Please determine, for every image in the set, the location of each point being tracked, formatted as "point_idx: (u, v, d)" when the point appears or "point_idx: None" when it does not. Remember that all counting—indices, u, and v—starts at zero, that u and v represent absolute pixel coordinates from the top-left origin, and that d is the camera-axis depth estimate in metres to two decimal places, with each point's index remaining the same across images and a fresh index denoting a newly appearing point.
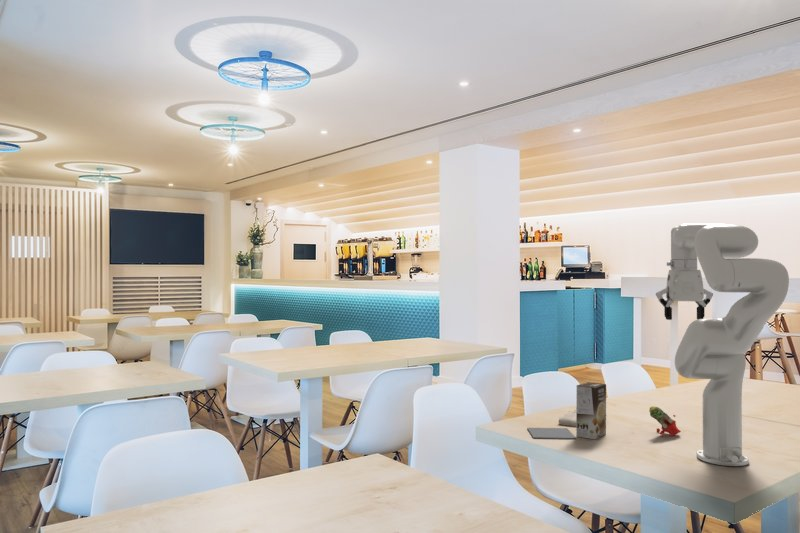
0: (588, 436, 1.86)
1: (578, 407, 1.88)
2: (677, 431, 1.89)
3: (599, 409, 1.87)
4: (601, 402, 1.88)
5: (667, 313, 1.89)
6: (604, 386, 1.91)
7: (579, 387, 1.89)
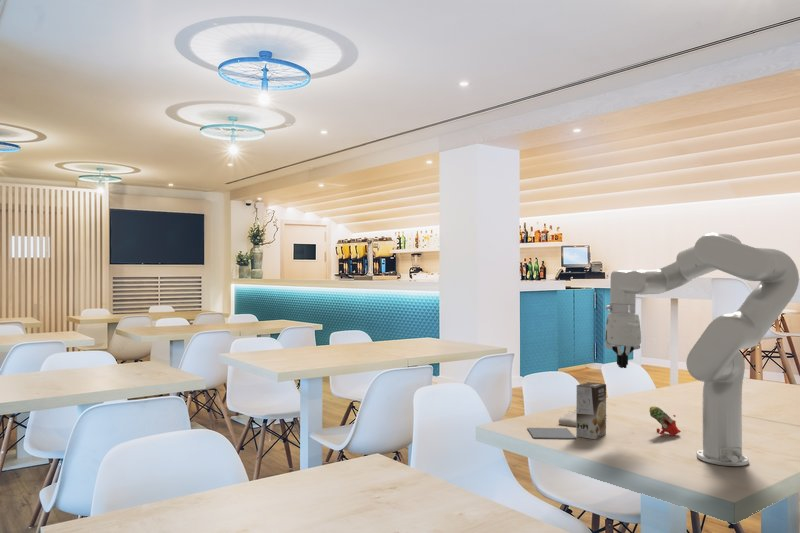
0: (588, 436, 1.86)
1: (578, 407, 1.88)
2: (677, 431, 1.89)
3: (599, 409, 1.87)
4: (601, 402, 1.88)
5: (619, 361, 1.90)
6: (604, 386, 1.91)
7: (579, 387, 1.89)
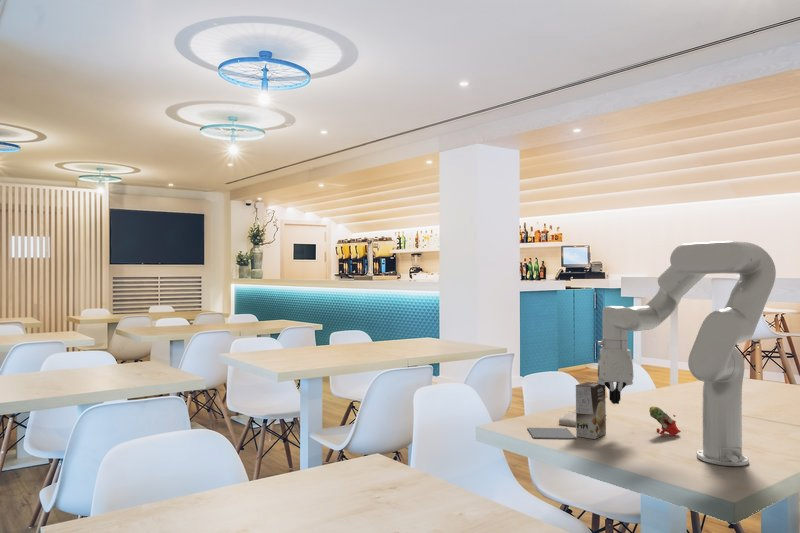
0: (588, 436, 1.86)
1: (577, 407, 1.89)
2: (677, 431, 1.89)
3: (598, 409, 1.87)
4: (600, 401, 1.89)
5: (611, 397, 1.89)
6: (603, 385, 1.91)
7: (578, 387, 1.89)
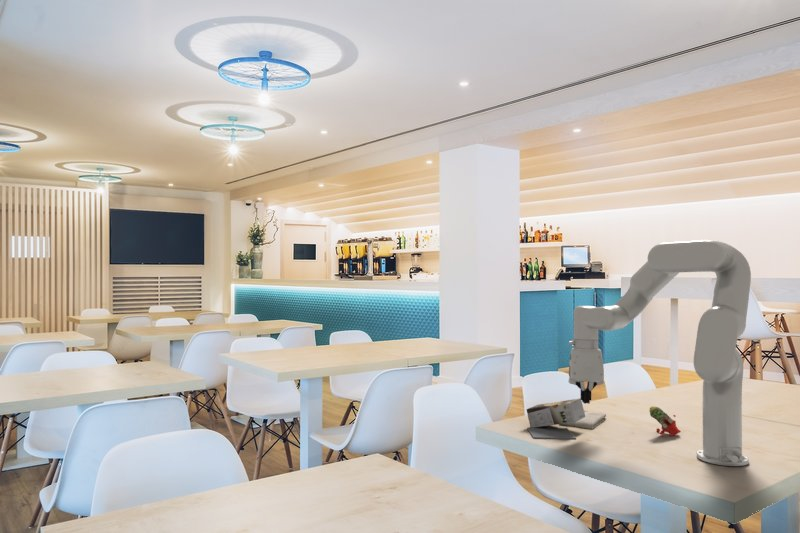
0: (570, 410, 1.90)
1: (548, 423, 1.95)
2: (677, 431, 1.89)
3: (548, 404, 1.98)
4: (545, 404, 2.00)
5: (582, 396, 1.90)
6: (537, 405, 2.05)
7: (531, 424, 1.99)
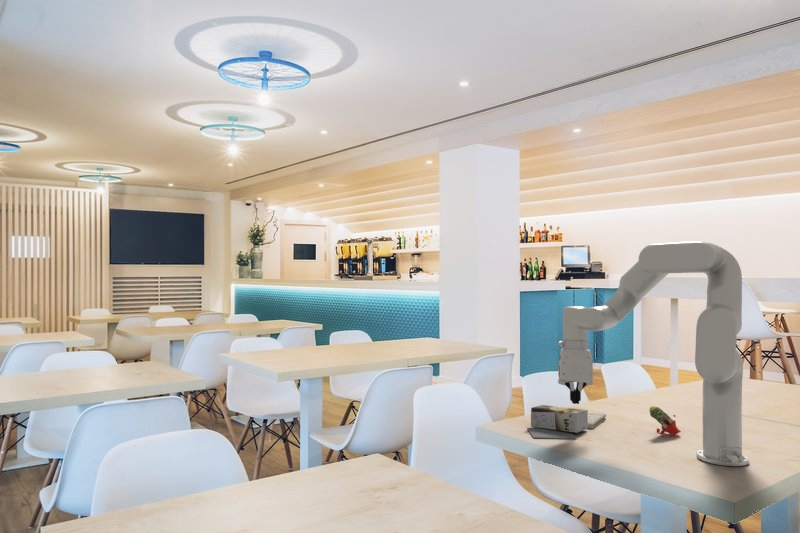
0: (574, 419, 1.90)
1: (550, 427, 1.95)
2: (677, 431, 1.89)
3: (554, 408, 1.97)
4: (550, 407, 2.00)
5: (572, 397, 1.90)
6: (541, 405, 2.05)
7: (532, 423, 1.99)
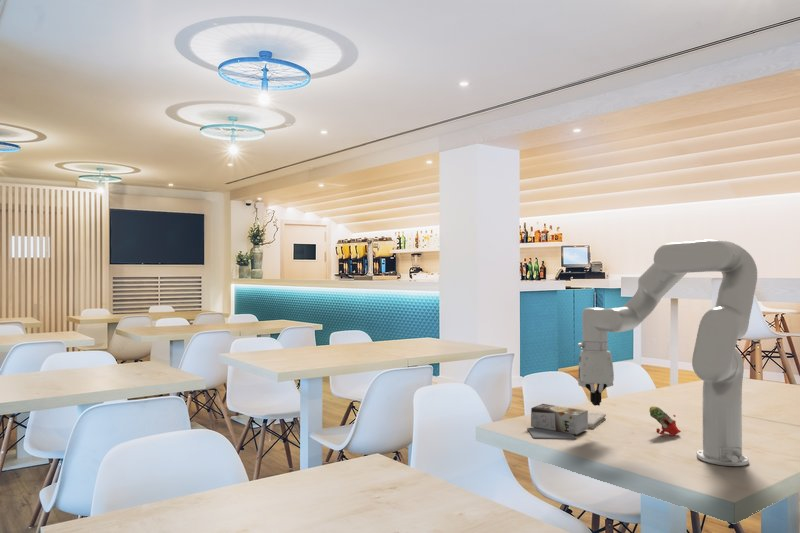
0: (575, 421, 1.89)
1: (550, 427, 1.95)
2: (677, 431, 1.89)
3: (554, 409, 1.97)
4: (551, 407, 1.99)
5: (592, 399, 1.89)
6: (542, 404, 2.04)
7: (532, 423, 1.99)
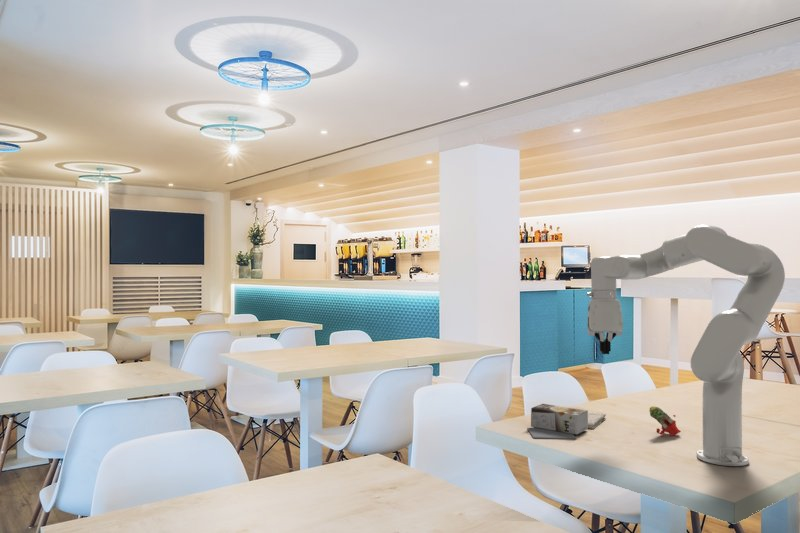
0: (575, 421, 1.89)
1: (550, 427, 1.95)
2: (677, 431, 1.89)
3: (554, 409, 1.97)
4: (551, 407, 1.99)
5: (602, 347, 1.89)
6: (542, 404, 2.04)
7: (532, 423, 1.99)
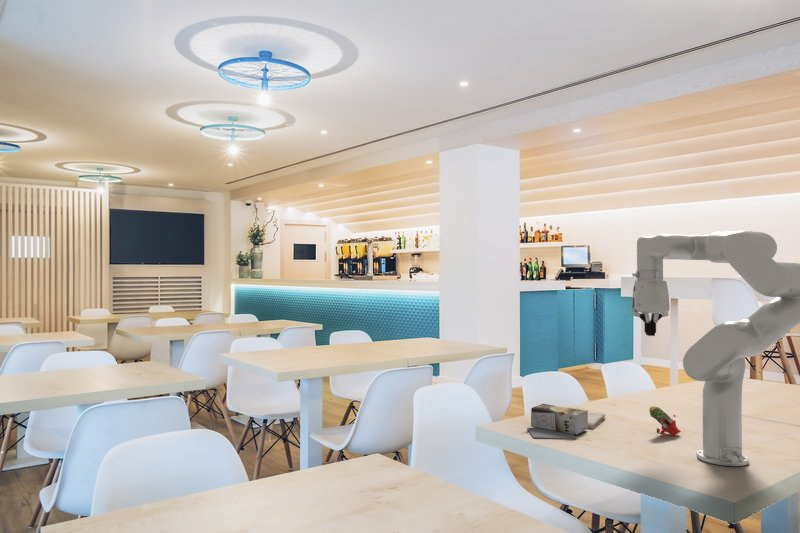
0: (575, 421, 1.89)
1: (550, 427, 1.95)
2: (677, 431, 1.89)
3: (554, 409, 1.97)
4: (551, 407, 1.99)
5: (647, 329, 1.85)
6: (542, 404, 2.04)
7: (532, 423, 1.99)
